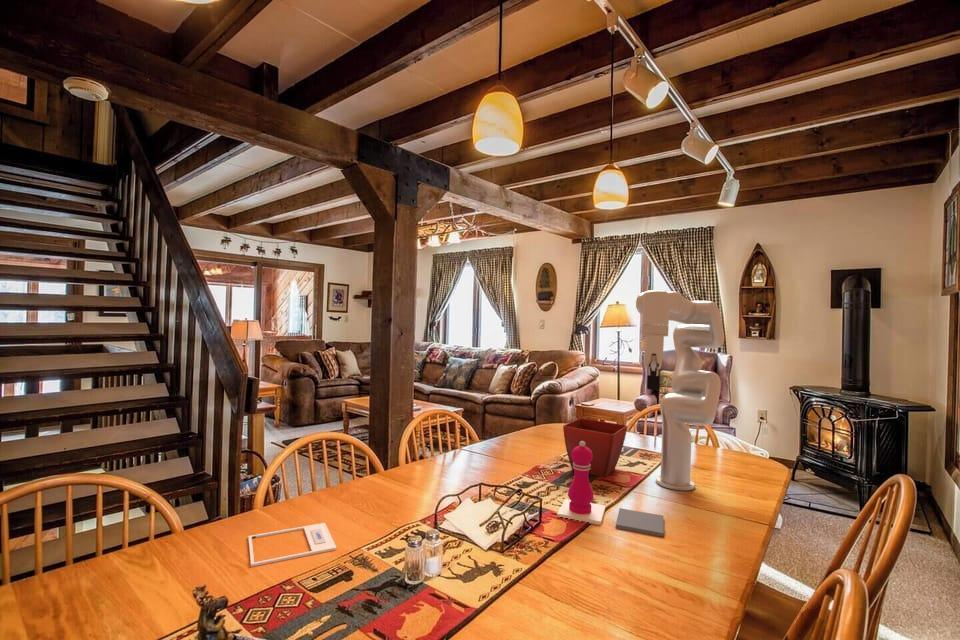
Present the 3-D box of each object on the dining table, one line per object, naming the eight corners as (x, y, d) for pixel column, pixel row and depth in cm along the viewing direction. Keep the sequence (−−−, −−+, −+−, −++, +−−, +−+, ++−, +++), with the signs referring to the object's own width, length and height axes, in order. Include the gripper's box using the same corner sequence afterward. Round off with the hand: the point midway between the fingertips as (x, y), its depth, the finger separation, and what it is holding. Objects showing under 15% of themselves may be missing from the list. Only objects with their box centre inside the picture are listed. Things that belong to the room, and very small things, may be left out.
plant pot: (626, 468, 178) (628, 424, 178) (611, 482, 162) (613, 434, 162) (578, 459, 188) (580, 417, 188) (560, 471, 172) (562, 425, 172)
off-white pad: (565, 501, 143) (565, 498, 143) (605, 509, 138) (605, 505, 138) (557, 517, 132) (557, 513, 132) (600, 525, 127) (600, 521, 127)
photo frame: (336, 546, 109) (251, 563, 101) (336, 551, 109) (250, 568, 100) (325, 521, 122) (248, 535, 113) (324, 526, 122) (248, 539, 113)
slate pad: (619, 511, 137) (619, 508, 137) (663, 519, 133) (663, 515, 133) (615, 527, 126) (615, 524, 126) (663, 536, 121) (663, 533, 121)
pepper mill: (593, 516, 130) (596, 445, 130) (567, 513, 132) (569, 443, 132) (592, 506, 137) (594, 438, 137) (567, 503, 139) (569, 436, 139)
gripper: (642, 330, 151) (641, 383, 151) (640, 330, 135) (638, 389, 135) (667, 331, 148) (666, 384, 148) (668, 332, 132) (666, 392, 132)
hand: (653, 387), depth 141 cm, fingers open, 9 cm apart
